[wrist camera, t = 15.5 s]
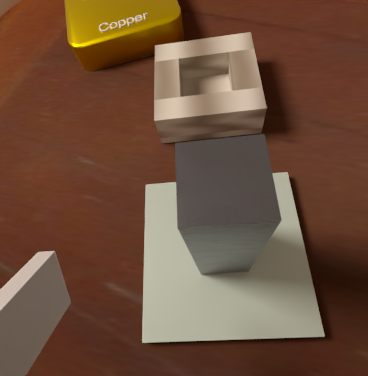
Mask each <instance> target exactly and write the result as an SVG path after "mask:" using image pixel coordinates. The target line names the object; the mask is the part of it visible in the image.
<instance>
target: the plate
mask: <svg viewBox="0 0 368 376" xmlns="http://www.w3.org/2000/svg"><path fill="white" fill-rule="evenodd" d="M272 174H273V179H274V184H275V189H276V194H277V199H278V204H279V209H280V214H281V219H282V221H281V222H280V224H279V225H278V227H277V228H276V230H275V231H274V233H273V234H272V236H271V238H270V239H269V241H268V242H267V244H266V245H265V247H264V248H263V250H262V251H261V253H260V255H259V256H258V258H257V259H256V261H255V262H254V264H253V265H252V267H251V268H250V270H249V271H248V272H236V273H218V274H200V272H199V270H198V268H197V266H196V264H195V262H194V260H193V258H192V256H191V254H190V252H189V250H188V248H187V246H186V244H185V242H184V240H183V238H182V236H181V234H180V232H179V230H178V228H177V195H176V182H171V183H159V184H148V185H146V197H145V240H144V283H143V326H142V343H150V342H180V341H210V340H240V339H270V338H300V337H325V335H324V330H323V326H322V322H321V317H320V313H319V308H318V304H317V300H316V295H315V291H314V286H313V282H312V278H311V273H310V269H309V264H308V260H307V255H306V251H305V247H304V242H303V238H302V233H301V229H300V225H299V220H298V216H297V211H296V207H295V203H294V198H293V194H292V189H291V185H290V181H289V176H288V172H282V173H272Z"/></svg>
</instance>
